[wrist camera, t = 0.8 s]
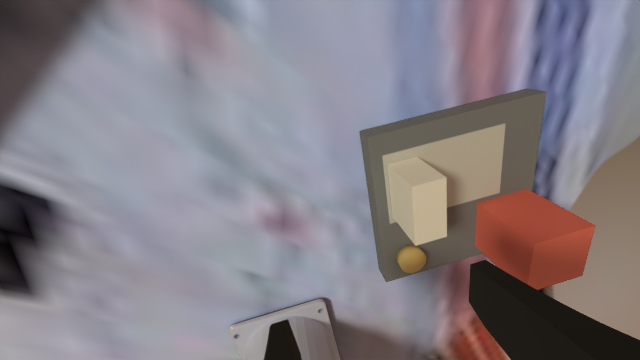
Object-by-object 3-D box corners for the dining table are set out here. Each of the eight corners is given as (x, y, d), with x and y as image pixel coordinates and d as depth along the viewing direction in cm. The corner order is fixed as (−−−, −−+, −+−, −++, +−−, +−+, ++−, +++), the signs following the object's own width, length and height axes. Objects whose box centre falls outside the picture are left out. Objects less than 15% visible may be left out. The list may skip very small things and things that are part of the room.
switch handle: (419, 209, 21) (446, 236, 18) (392, 216, 20) (415, 245, 17) (416, 156, 19) (446, 177, 16) (387, 164, 19) (411, 187, 16)
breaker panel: (511, 230, 26) (533, 246, 23) (379, 269, 25) (390, 289, 22) (527, 88, 20) (557, 93, 18) (359, 131, 19) (371, 141, 17)
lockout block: (521, 232, 24) (582, 275, 19) (474, 245, 23) (526, 293, 19) (526, 188, 22) (595, 225, 17) (476, 202, 22) (534, 244, 17)
